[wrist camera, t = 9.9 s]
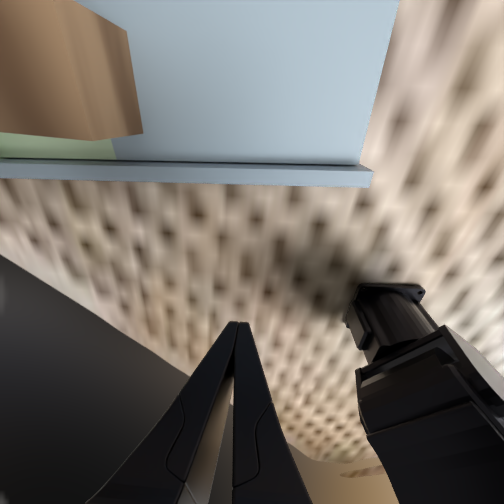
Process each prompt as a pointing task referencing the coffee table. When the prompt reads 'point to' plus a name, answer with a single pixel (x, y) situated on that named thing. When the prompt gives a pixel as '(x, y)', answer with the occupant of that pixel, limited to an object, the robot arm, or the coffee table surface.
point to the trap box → (233, 95)
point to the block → (65, 73)
